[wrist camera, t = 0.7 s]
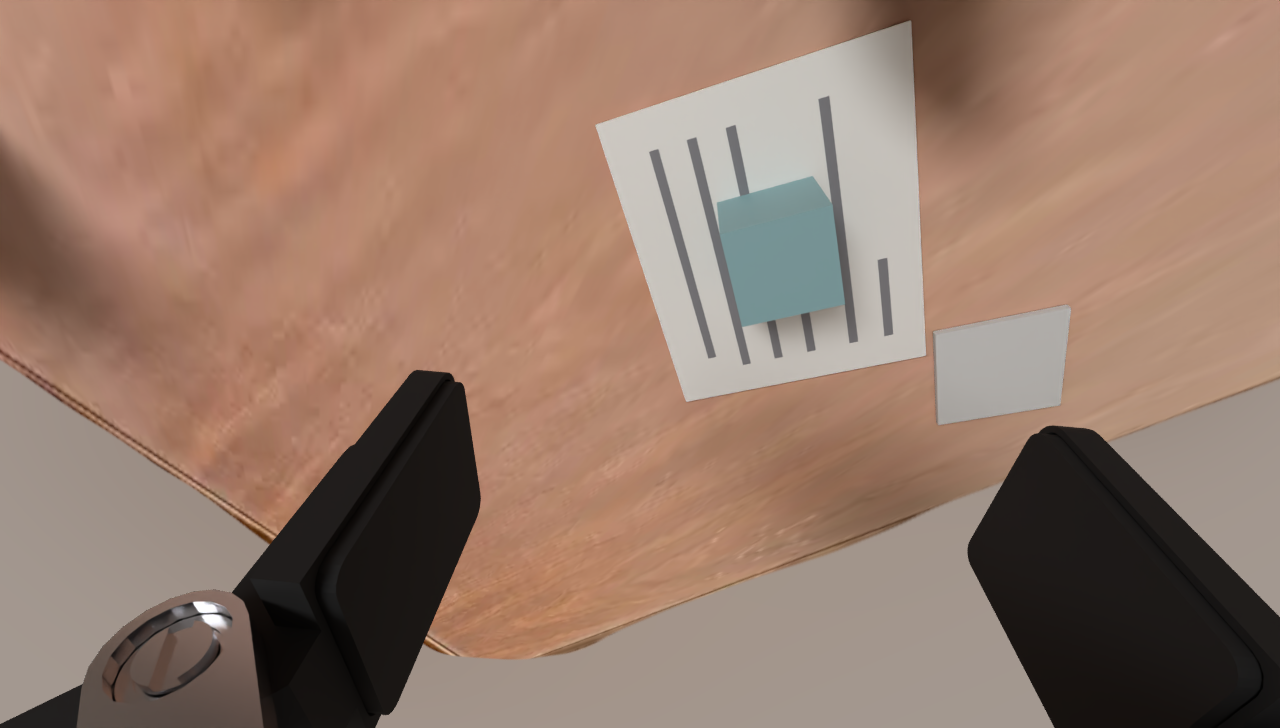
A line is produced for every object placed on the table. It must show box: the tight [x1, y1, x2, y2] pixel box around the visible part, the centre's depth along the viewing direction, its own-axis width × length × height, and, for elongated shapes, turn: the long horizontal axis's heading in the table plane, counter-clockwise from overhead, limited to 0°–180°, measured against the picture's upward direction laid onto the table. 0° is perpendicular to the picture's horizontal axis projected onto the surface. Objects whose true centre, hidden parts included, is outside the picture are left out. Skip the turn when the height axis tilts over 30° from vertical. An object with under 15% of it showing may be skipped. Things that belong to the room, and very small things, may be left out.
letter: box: [595, 20, 926, 402], centre depth 30 cm, size 15×18×1 cm
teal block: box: [717, 176, 845, 327], centre depth 27 cm, size 5×5×5 cm
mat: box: [933, 305, 1071, 425], centre depth 33 cm, size 7×7×1 cm
